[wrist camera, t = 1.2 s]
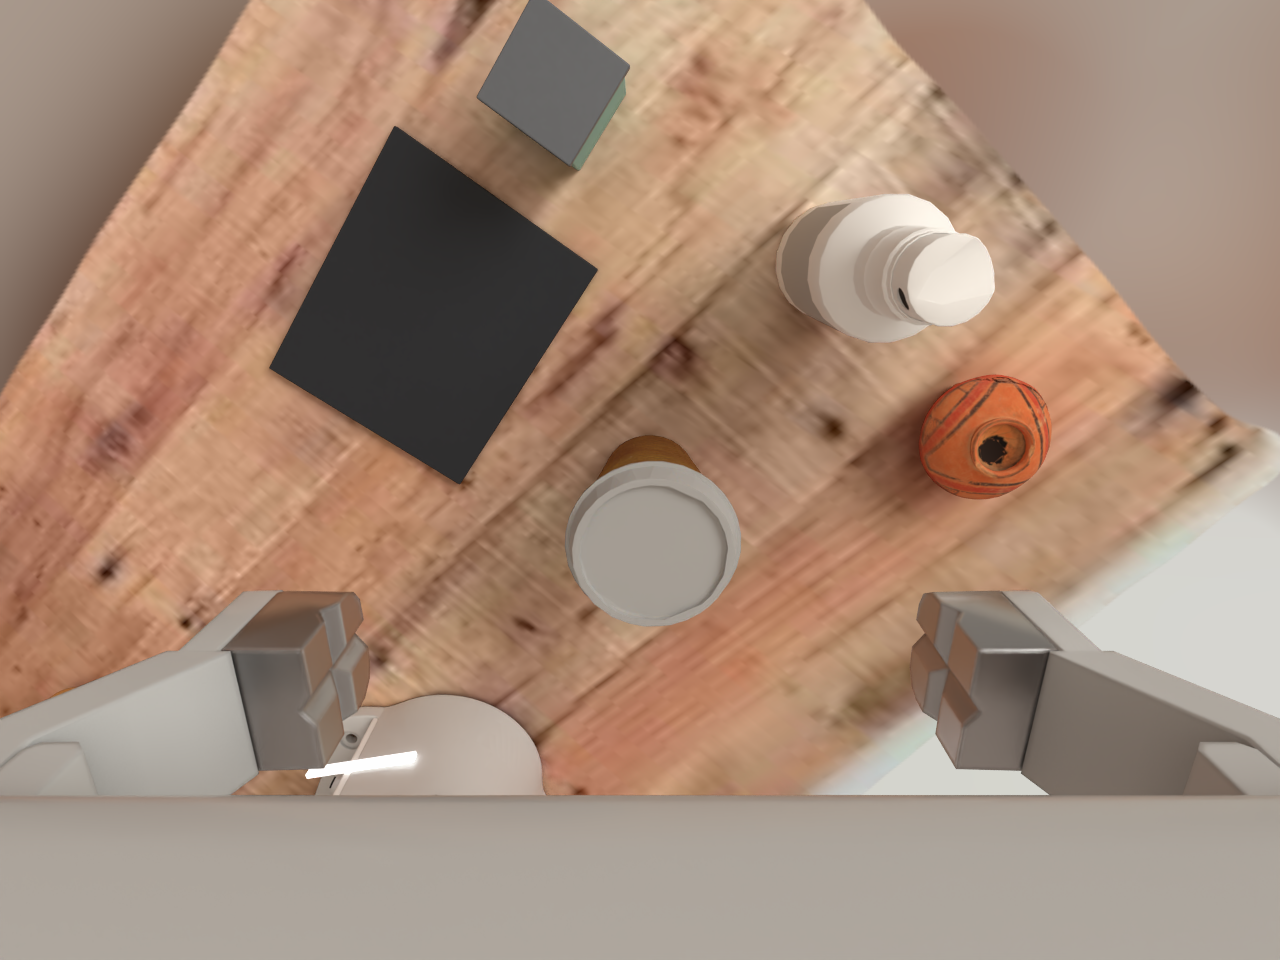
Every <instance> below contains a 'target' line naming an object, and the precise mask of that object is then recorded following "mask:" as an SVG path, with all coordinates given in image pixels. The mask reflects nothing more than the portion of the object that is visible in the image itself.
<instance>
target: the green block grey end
mask: <svg viewBox="0 0 1280 960" xmlns="http://www.w3.org/2000/svg"><path fill="white" fill-rule="evenodd" d="M629 69H630V65H629V64H628V63H627V62H625V61H624V60H623V59H622V58H620V57H619V56H618V55H616V54H615V53H614V52H613V51H611V50H610V49H609V48H608V47H606V46H605V45H604V44H602V43H601V42H600V41H599V40H597V39H596V38H595V37H593V36H592V35H591V34H590V33H588V32H587V31H586V30H585V29H583V28H582V27H581V26H579V25H578V24H577V23H576V22H574V21H573V20H572V19H571V18H569V17H568V16H567V15H565V14H564V13H563V12H562V11H560V10H559V9H558V8H557V7H555V6H554V5H553V4H551V3H550V2H549V1H548V0H529V2H528V4H527V5H526V7H525V9H524V11H523V13H522V14H521V16H520V18H519V20H518V22H517V24H516V25H515V27H514V29H513V31H512V33H511V35H510V36H509V38H508V40H507V42H506V44H505V46H504V47H503V49H502V51H501V53H500V55H499V57H498V58H497V60H496V62H495V64H494V66H493V68H492V69H491V71H490V73H489V75H488V77H487V79H486V80H485V82H484V84H483V86H482V88H481V90H480V91H479V93H478V95H477V99H479V100H480V101H481V102H483V103H484V104H485V105H487V106H488V107H489V108H491V109H492V110H493V111H495V112H496V113H497V114H499V115H500V116H502V117H503V118H504V119H506V120H507V121H508V122H510V123H511V124H512V125H514V126H515V127H516V128H518V129H519V130H521V131H522V132H523V133H525V134H526V135H527V136H529V137H530V138H531V139H533V140H534V141H536V142H537V143H538V144H540V145H541V146H542V147H544V148H545V149H546V150H548V151H549V152H550V153H552V154H553V155H555V156H556V157H557V158H559V159H560V160H561V161H563V162H564V163H565V164H567V165H568V166H572V167H574V168H575V169H576V170H578V171H579V170H580V169H581V167H582V166H583V164H584V162H585V161H586V159H587V157H588V156H589V154H590V152H591V151H592V149H593V148H594V146H595V144H596V143H597V141H598V139H599V138H600V136H601V134H602V133H603V131H604V129H605V128H606V126H607V125H608V123H609V121H610V120H611V118H612V116H613V115H614V113H615V111H616V110H617V108H618V106H619V105H620V103H621V101H622V100H623V98H624V97H625V95H626V88H625V76H626V74H627V73H628V71H629Z"/></svg>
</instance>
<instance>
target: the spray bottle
mask: <svg viewBox="0 0 1280 960" xmlns="http://www.w3.org/2000/svg"><path fill="white" fill-rule="evenodd" d="M776 275H777V279H778V283H779V287H780V289H781V291H782V292H783V294H784V295H785V297H786V299H787V300H788V302H789V303H791V304H792V305H793V306H794V307H796V308H797V309H798V310H799V311H801V312H802V313H804V314H806V315H808V316H810V317H812V318H814V319H816V320H818V321H820V322H822V323H824V324H826V325H828V326H830V327H832V328H834V329H836V330H838V331H840V332H842V333H844V334H846V335H848V336H851V337H854V338H857V339H860V340H863V341H866V342H869V343H891V342H894V341H897V340H901V339H904V338H907V337H910V336H913V335H915V334H917V333H918V332H920V331H921V330H923V329H924V328H926V327H927V326H929V325H936V326H955V325H958V324H961V323H964V322H967V321H968V320H970V319H971V318H973V317H974V316H976V315H977V314H979V313H980V311H981V310H982V309H983V308H984V307H985V306H986V304H987V303H988V302H989V300H990V298H991V297H992V295H993V293H994V289H995V286H994V270H993V266H992V261H991V258H990V256H989V253H988V251H987V249H986V247H985V246H984V245H983V244H982V242H981V241H980V240H979V238H977V237H974V236H971V235H968V234H959V233H958V232H955V230H954V228H953V226H952V224H951V223H950V221H949V219H948V217H947V216H945V215H944V214H943V213H942V212H941V211H940V210H939V209H937V208H936V207H935V206H934V205H933V204H932V203H931V202H929V201H926V200H923V199H921V198H918V197H915V196H913V195H910V194H882V195H875V196H869V197H862V198H855V199H849V200H842V201H835V202H829V203H825V204H822V205H819V206H816V207H813V208H810V209H809V210H807V211H806V212H805V213H803V214H802V215H800V216H799V217H798V218H796V219H795V220H794V221H793V223H792V224H791V225H790V227H789V228H788V229H787V231H786V232H785V233H784V235H783V237H782V240H781V242H780V245H779V248H778V250H777V256H776Z"/></svg>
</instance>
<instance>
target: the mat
mask: <svg viewBox="0 0 1280 960" xmlns="http://www.w3.org/2000/svg"><path fill="white" fill-rule="evenodd" d="M597 270H598V269H597V268H595V267H594V266H593V265H591V264H590V263H588V262H587V261H585V260H584V259H583V258H581V257H580V256H578V255H577V254H576V253H574V252H573V251H571V250H570V249H569V248H567V247H566V246H564V245H563V244H562V243H560V242H559V241H557V240H556V239H554V238H553V237H552V236H550V235H549V234H547V233H546V232H545V231H543V230H542V229H540V228H539V227H538V226H536V225H535V224H533V223H532V222H531V221H529V220H528V219H526V218H525V217H523V216H522V215H521V214H519V213H518V212H516V211H515V210H514V209H512V208H511V207H509V206H508V205H507V204H505V203H504V202H502V201H501V200H500V199H498V198H497V197H495V196H494V195H492V194H491V193H490V192H488V191H487V190H485V189H484V188H483V187H481V186H480V185H478V184H477V183H476V182H474V181H473V180H471V179H470V178H469V177H467V176H466V175H464V174H463V173H461V172H460V171H459V170H457V169H456V168H454V167H453V166H452V165H450V164H449V163H447V162H446V161H445V160H443V159H442V158H440V157H439V156H438V155H436V154H435V153H433V152H432V151H430V150H429V149H428V148H426V147H425V146H423V145H422V144H421V143H419V142H418V141H416V140H415V139H414V138H412V137H411V136H409V135H408V134H406V133H405V132H404V131H402V130H401V129H399V128H398V127H396V126H394V128H393V130H392V132H391V134H390V136H389V137H388V139H387V141H386V143H385V145H384V147H383V149H382V151H381V153H380V155H379V157H378V159H377V161H376V163H375V165H374V166H373V168H372V170H371V172H370V174H369V176H368V178H367V180H366V182H365V184H364V186H363V188H362V190H361V192H360V194H359V195H358V197H357V199H356V201H355V203H354V205H353V207H352V209H351V211H350V213H349V215H348V217H347V219H346V221H345V222H344V224H343V226H342V228H341V230H340V232H339V234H338V236H337V238H336V240H335V242H334V244H333V246H332V248H331V250H330V251H329V253H328V255H327V257H326V259H325V261H324V263H323V265H322V267H321V269H320V271H319V273H318V275H317V277H316V279H315V280H314V282H313V284H312V286H311V288H310V290H309V292H308V294H307V296H306V298H305V300H304V302H303V304H302V306H301V308H300V309H299V311H298V313H297V315H296V317H295V319H294V321H293V323H292V325H291V327H290V329H289V331H288V333H287V335H286V336H285V338H284V340H283V342H282V344H281V346H280V348H279V350H278V352H277V354H276V356H275V358H274V360H273V362H272V364H271V365H270V367H269V368H270V369H271V370H273V371H275V372H276V373H278V374H280V375H281V376H283V377H284V378H286V379H288V380H289V381H291V382H293V383H294V384H296V385H298V386H299V387H301V388H302V389H304V390H306V391H307V392H309V393H311V394H312V395H314V396H316V397H317V398H319V399H320V400H322V401H324V402H325V403H327V404H329V405H330V406H332V407H334V408H335V409H337V410H338V411H340V412H342V413H343V414H345V415H347V416H348V417H350V418H352V419H353V420H355V421H356V422H358V423H360V424H361V425H363V426H365V427H366V428H368V429H370V430H371V431H373V432H374V433H376V434H378V435H379V436H381V437H383V438H384V439H386V440H388V441H389V442H391V443H392V444H394V445H396V446H397V447H399V448H401V449H402V450H404V451H406V452H407V453H409V454H411V455H412V456H414V457H415V458H417V459H419V460H420V461H422V462H424V463H425V464H427V465H429V466H430V467H432V468H433V469H435V470H437V471H438V472H440V473H442V474H443V475H445V476H447V477H448V478H450V479H451V480H453V481H455V482H456V483H458V484H460V483H461V482H462V480H463V479H464V477H465V476H466V474H467V473H468V471H469V470H470V468H471V466H472V465H473V463H474V462H475V460H476V459H477V457H478V456H479V454H480V452H481V451H482V449H483V448H484V446H485V445H486V443H487V442H488V440H489V438H490V437H491V435H492V434H493V432H494V431H495V429H496V428H497V426H498V424H499V423H500V421H501V420H502V418H503V417H504V415H505V414H506V412H507V410H508V409H509V407H510V406H511V404H512V403H513V401H514V400H515V398H516V396H517V395H518V393H519V392H520V390H521V389H522V387H523V386H524V384H525V382H526V381H527V379H528V378H529V376H530V375H531V373H532V372H533V370H534V368H535V367H536V365H537V364H538V362H539V361H540V359H541V358H542V356H543V354H544V353H545V351H546V350H547V348H548V347H549V345H550V344H551V342H552V340H553V339H554V337H555V336H556V334H557V333H558V331H559V330H560V328H561V326H562V325H563V323H564V322H565V320H566V319H567V317H568V316H569V314H570V312H571V311H572V309H573V308H574V306H575V305H576V303H577V302H578V300H579V298H580V297H581V295H582V294H583V292H584V291H585V289H586V288H587V286H588V284H589V283H590V281H591V280H592V278H593V277H594V275H595V274H596V272H597Z"/></svg>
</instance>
